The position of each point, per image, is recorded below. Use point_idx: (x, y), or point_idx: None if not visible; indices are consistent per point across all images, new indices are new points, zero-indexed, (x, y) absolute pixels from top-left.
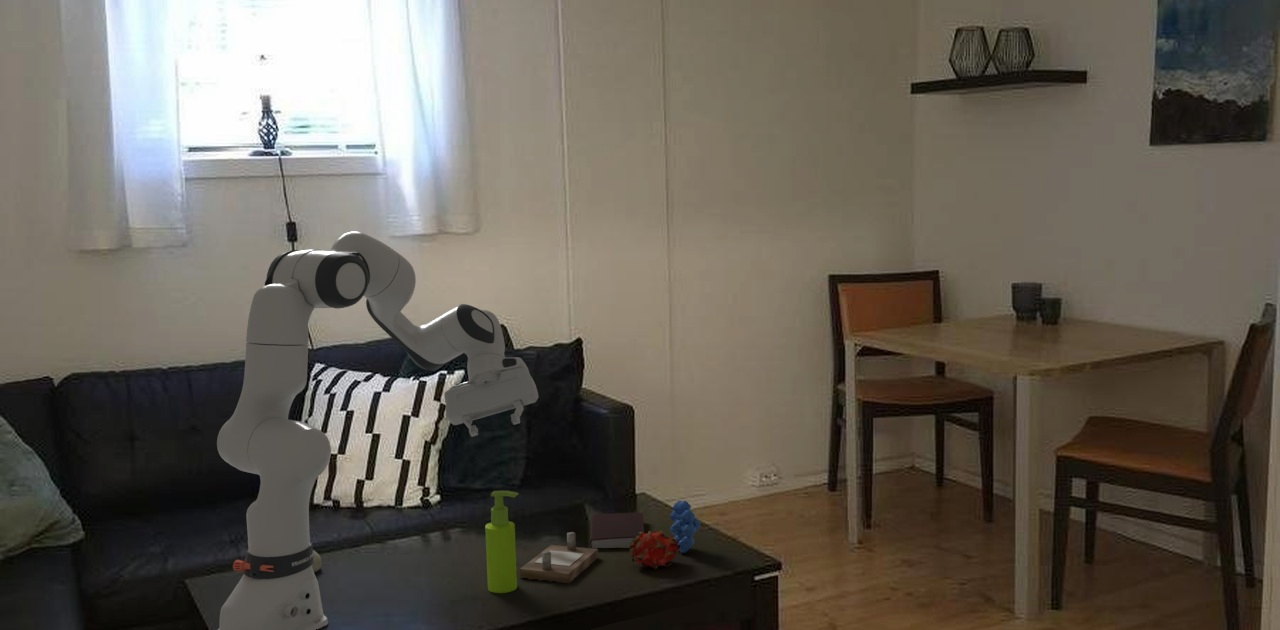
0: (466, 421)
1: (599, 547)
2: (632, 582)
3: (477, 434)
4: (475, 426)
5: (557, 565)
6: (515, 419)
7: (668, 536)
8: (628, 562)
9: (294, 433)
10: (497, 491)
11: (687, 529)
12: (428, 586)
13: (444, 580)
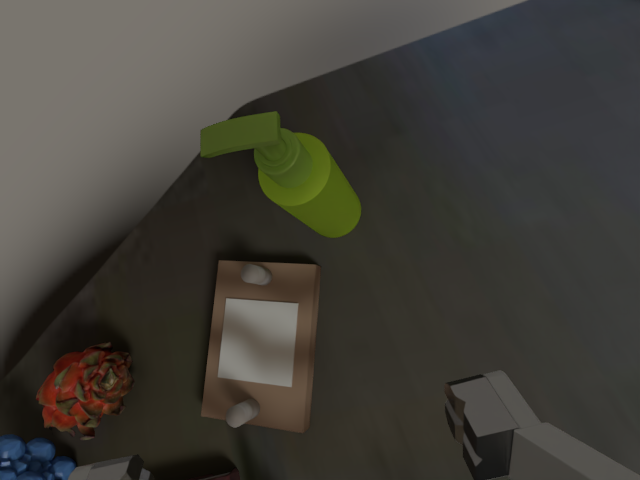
0: (599, 474)
1: (219, 475)
2: (133, 292)
3: (446, 405)
4: (470, 431)
5: (250, 300)
6: (95, 466)
7: (38, 396)
8: (154, 394)
9: None
10: (260, 133)
11: (5, 437)
12: (485, 178)
13: (469, 218)
